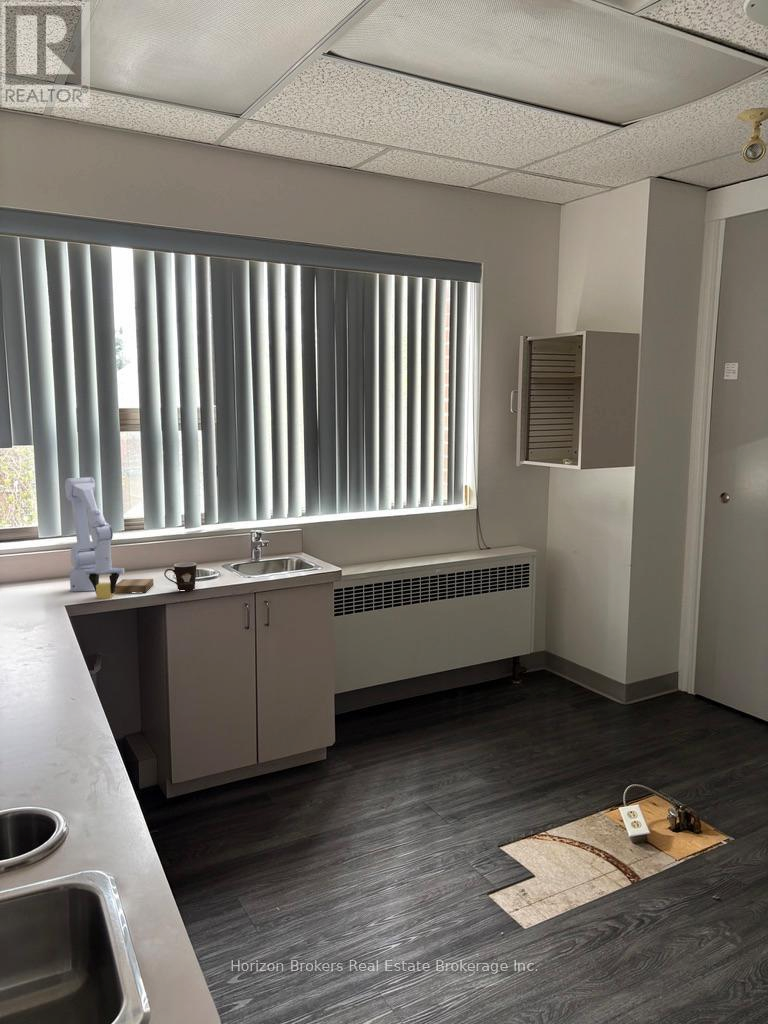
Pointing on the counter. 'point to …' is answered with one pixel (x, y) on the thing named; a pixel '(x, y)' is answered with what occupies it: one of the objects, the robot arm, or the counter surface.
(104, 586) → the mustard cube
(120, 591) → the walnut base
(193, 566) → the coffee mug
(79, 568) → the robot arm
